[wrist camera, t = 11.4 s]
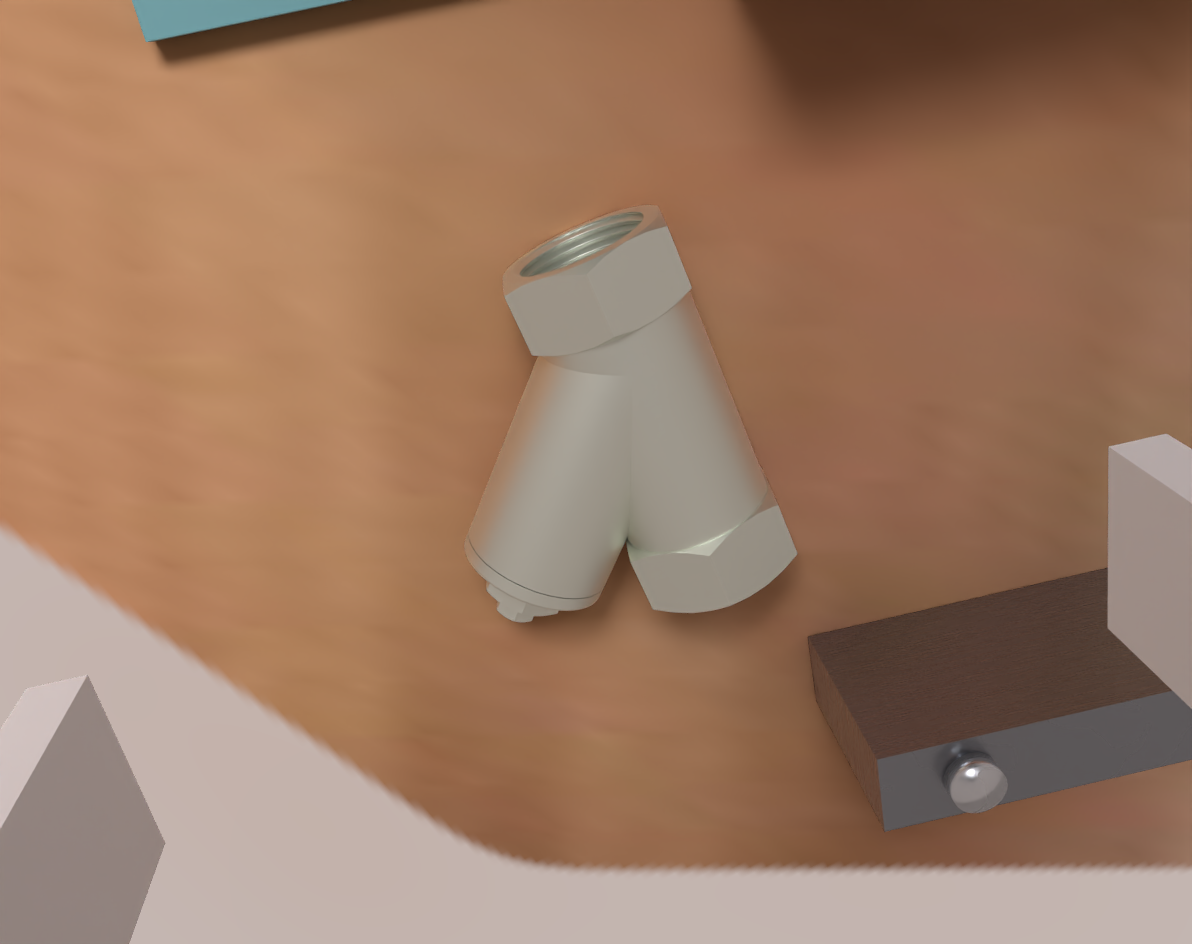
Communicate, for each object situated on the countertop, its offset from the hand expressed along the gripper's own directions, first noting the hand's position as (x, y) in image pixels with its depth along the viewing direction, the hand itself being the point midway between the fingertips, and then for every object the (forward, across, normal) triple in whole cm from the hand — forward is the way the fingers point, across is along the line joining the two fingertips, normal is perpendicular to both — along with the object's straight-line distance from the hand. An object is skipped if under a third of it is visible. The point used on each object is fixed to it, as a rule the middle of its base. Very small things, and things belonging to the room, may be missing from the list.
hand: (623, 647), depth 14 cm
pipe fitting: (+12, 0, -1) cm, 12 cm away
